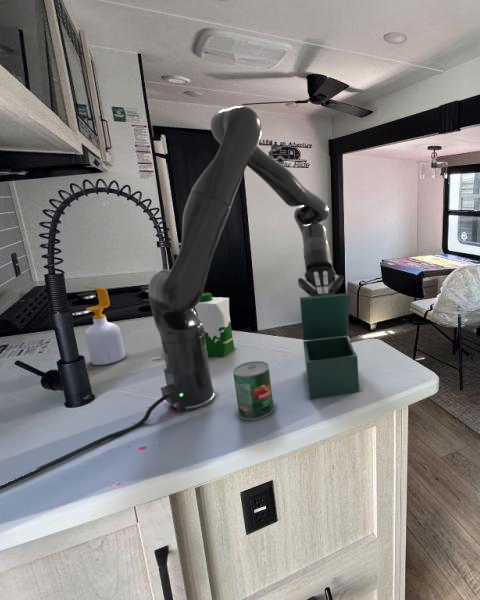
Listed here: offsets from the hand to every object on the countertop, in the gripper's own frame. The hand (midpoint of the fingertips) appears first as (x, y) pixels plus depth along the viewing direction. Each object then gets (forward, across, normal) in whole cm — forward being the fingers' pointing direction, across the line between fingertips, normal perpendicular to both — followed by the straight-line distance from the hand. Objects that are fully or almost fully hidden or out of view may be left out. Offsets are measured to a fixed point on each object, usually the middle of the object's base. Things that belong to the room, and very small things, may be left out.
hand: (324, 308), depth 101 cm
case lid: (+2, 0, +3) cm, 3 cm away
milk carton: (-7, -33, +36) cm, 49 cm away
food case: (+16, 0, +13) cm, 20 cm away
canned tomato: (+23, -19, +6) cm, 30 cm away
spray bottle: (-11, -67, +40) cm, 79 cm away
